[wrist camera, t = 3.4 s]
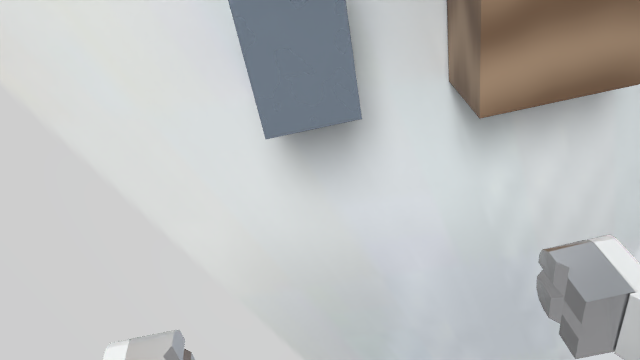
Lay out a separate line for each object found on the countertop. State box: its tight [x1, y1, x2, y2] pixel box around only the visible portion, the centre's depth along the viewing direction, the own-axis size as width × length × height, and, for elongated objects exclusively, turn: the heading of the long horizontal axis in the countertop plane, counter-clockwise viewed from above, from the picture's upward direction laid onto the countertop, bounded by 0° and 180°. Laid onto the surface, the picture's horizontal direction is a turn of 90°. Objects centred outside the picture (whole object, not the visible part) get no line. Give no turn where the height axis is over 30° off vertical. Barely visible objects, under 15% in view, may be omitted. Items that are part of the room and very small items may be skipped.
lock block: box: [228, 0, 362, 139], centre depth 26 cm, size 8×5×6 cm, turn 10°
